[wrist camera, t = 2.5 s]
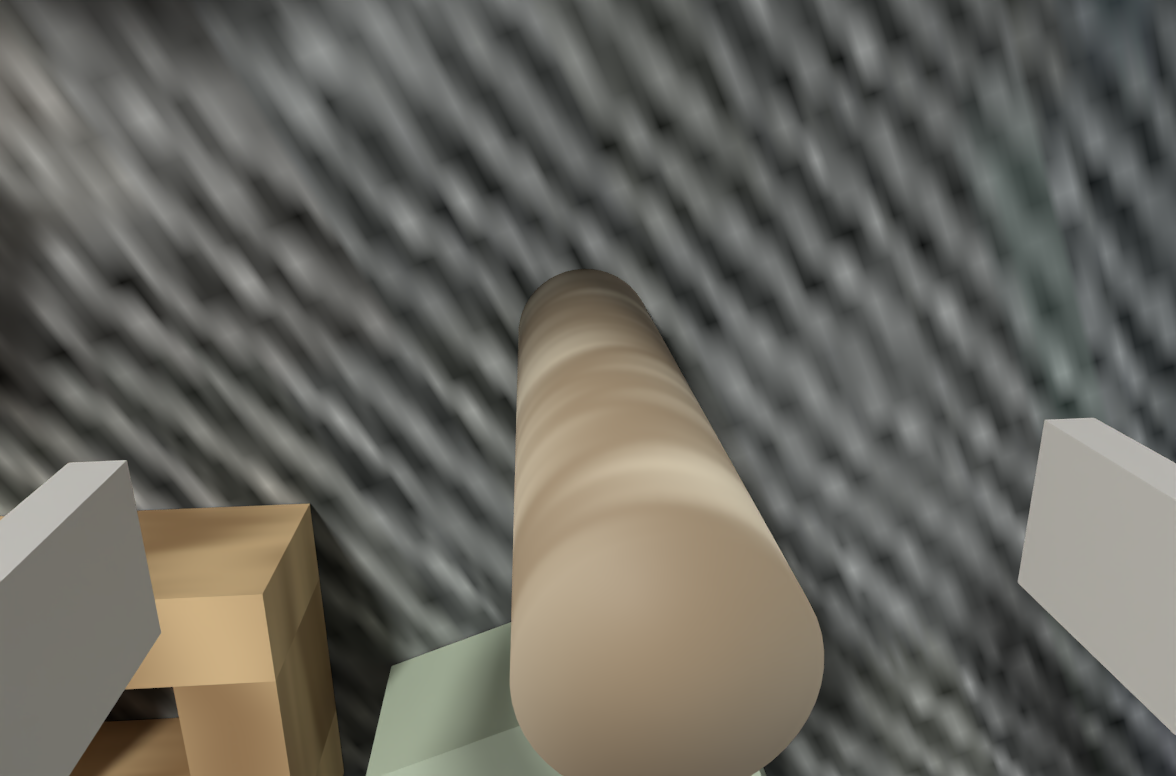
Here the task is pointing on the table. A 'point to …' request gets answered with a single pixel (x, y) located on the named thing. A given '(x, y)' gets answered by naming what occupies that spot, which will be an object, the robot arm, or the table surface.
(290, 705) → the wooden square ring
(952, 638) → the table surface
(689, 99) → the table surface
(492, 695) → the sage bead
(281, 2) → the table surface
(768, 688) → the dowel
